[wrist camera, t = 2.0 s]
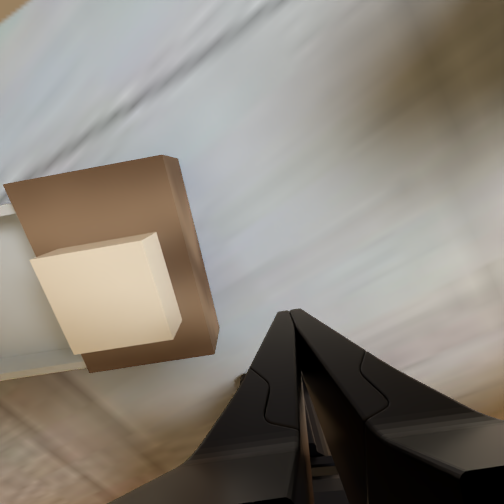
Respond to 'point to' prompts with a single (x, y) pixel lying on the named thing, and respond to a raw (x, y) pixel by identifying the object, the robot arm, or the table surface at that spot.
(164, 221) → the brown rectangular slab
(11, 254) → the box
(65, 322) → the block
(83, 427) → the table surface
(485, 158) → the table surface
